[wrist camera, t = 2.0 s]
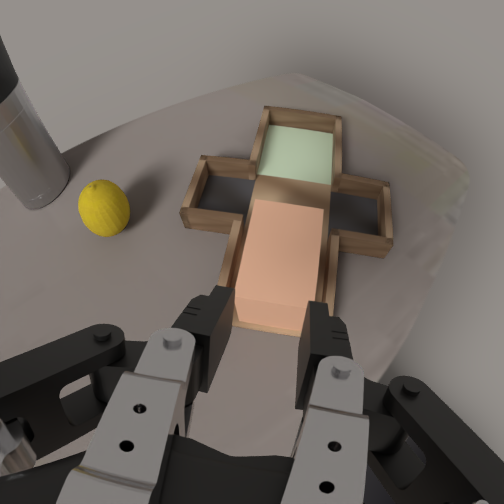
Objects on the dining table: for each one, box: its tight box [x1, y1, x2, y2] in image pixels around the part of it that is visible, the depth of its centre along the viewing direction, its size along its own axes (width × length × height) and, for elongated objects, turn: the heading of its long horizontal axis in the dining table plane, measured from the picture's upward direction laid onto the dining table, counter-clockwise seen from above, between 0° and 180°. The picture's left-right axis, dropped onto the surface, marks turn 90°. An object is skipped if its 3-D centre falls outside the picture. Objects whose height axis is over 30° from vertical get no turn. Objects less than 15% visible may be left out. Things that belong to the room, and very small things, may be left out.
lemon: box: [78, 180, 130, 237], centre depth 32 cm, size 6×6×8 cm
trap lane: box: [179, 106, 393, 337], centre depth 35 cm, size 29×22×3 cm
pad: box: [257, 125, 333, 185], centre depth 40 cm, size 10×9×1 cm
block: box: [235, 199, 324, 331], centre depth 28 cm, size 9×6×7 cm, turn 169°
